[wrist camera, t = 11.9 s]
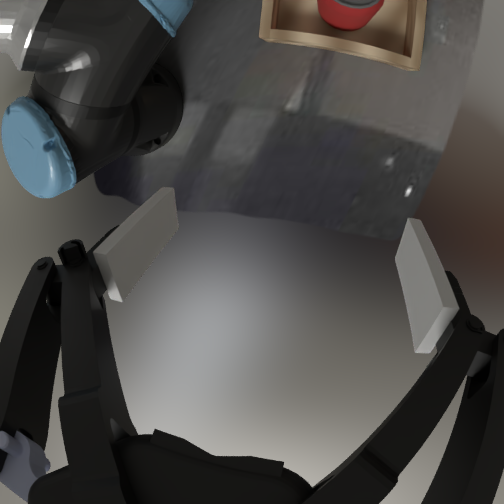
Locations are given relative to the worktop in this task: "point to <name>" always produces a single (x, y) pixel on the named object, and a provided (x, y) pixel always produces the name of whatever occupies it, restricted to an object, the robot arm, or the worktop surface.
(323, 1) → the beer can
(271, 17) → the crate
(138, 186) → the worktop surface
